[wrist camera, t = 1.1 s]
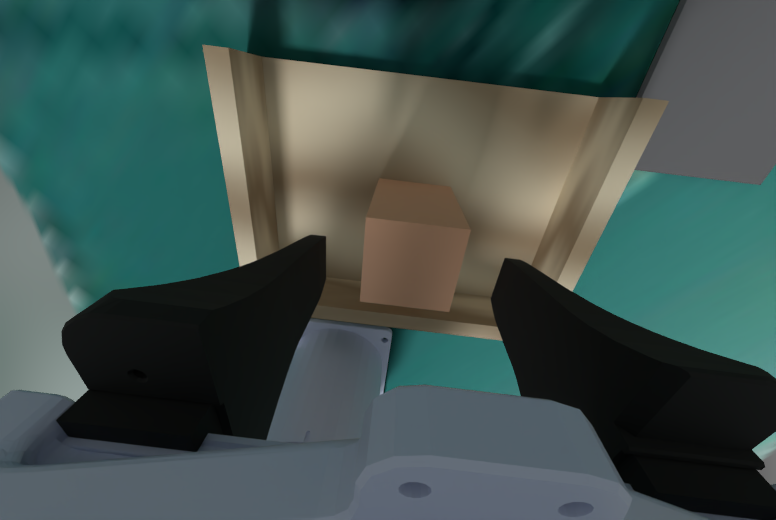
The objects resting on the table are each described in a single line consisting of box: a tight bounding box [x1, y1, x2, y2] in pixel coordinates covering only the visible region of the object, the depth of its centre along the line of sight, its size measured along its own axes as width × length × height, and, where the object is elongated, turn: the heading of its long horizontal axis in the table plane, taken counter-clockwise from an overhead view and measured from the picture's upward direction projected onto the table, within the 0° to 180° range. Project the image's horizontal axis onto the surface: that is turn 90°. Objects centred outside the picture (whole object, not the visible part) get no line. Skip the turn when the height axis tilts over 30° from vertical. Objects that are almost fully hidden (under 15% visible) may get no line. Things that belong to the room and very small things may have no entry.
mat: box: [634, 0, 776, 185], centre depth 14 cm, size 8×8×1 cm
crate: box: [203, 45, 669, 340], centre depth 16 cm, size 13×18×4 cm
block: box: [360, 178, 471, 312], centre depth 15 cm, size 4×4×6 cm
